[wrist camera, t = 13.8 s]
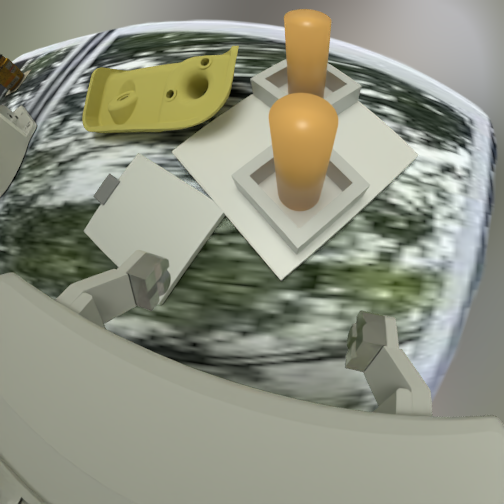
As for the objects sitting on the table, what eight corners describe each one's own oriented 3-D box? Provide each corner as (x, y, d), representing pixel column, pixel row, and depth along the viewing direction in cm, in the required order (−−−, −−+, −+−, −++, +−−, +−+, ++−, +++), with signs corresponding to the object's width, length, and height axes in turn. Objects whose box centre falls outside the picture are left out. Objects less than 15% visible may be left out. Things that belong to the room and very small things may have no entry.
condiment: (19, 75, 41) (-3, 54, 29) (31, 69, 39) (8, 46, 28) (5, 96, 40) (-18, 76, 28) (16, 91, 38) (-9, 68, 27)
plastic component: (79, 132, 26) (95, 60, 23) (118, 136, 33) (131, 73, 30) (222, 131, 21) (242, 33, 18) (249, 143, 28) (263, 62, 25)
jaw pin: (268, 189, 23) (254, 115, 13) (300, 164, 23) (303, 84, 13) (297, 219, 22) (302, 158, 12) (329, 193, 22) (352, 121, 12)
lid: (81, 225, 26) (76, 223, 25) (133, 151, 27) (129, 147, 26) (162, 304, 23) (157, 304, 22) (228, 211, 24) (225, 207, 23)
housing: (175, 156, 26) (123, 86, 15) (304, 69, 26) (305, -7, 15) (281, 281, 22) (275, 259, 11) (414, 159, 23) (464, 91, 12)
